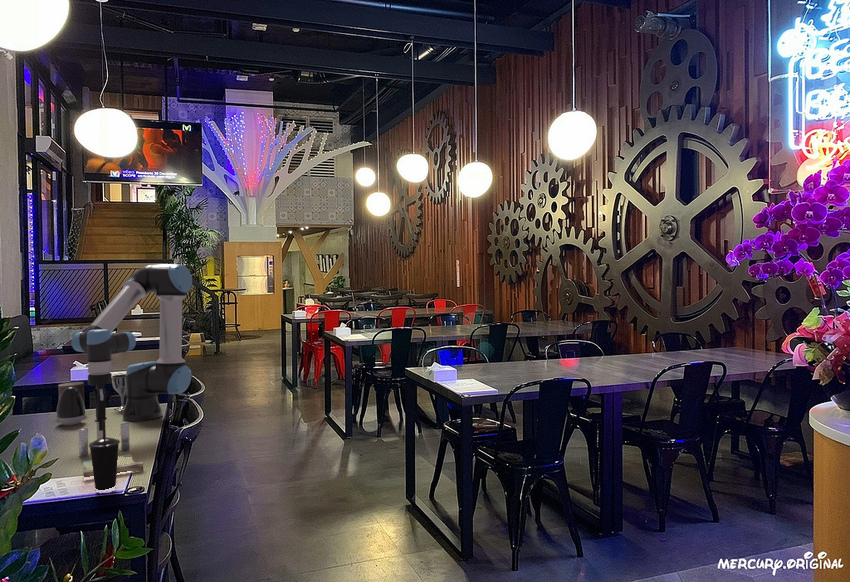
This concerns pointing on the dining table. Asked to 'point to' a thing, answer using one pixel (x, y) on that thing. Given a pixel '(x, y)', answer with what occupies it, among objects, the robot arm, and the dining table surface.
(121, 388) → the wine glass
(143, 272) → the robot arm
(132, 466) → the stopper wall
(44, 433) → the dining table surface
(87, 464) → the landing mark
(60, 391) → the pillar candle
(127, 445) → the post
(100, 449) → the drinking cup
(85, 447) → the post
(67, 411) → the black tapered dome
